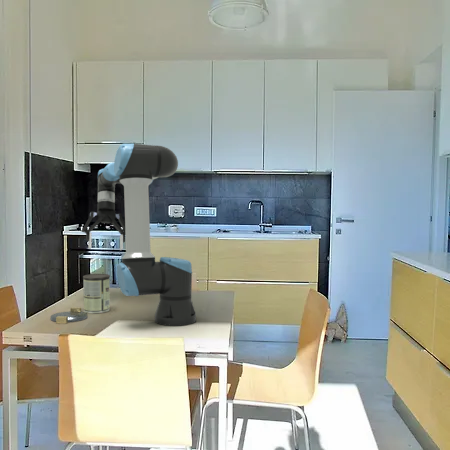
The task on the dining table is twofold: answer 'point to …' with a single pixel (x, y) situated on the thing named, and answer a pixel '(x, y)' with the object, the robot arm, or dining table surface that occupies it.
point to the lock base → (69, 316)
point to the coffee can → (96, 293)
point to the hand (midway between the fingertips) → (105, 248)
